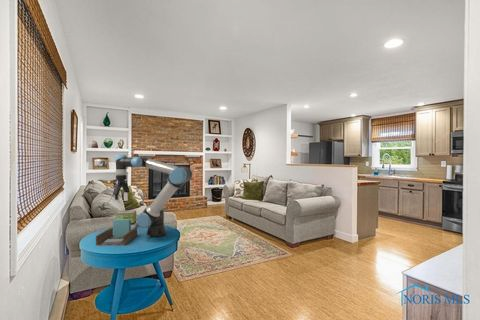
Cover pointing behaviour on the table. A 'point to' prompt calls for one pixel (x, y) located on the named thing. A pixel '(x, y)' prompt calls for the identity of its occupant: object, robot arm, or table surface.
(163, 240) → the table surface
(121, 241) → the offcut upper
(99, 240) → the rack
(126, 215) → the tea box
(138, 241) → the table surface
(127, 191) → the robot arm
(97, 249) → the table surface
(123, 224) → the teal rectangular slab
